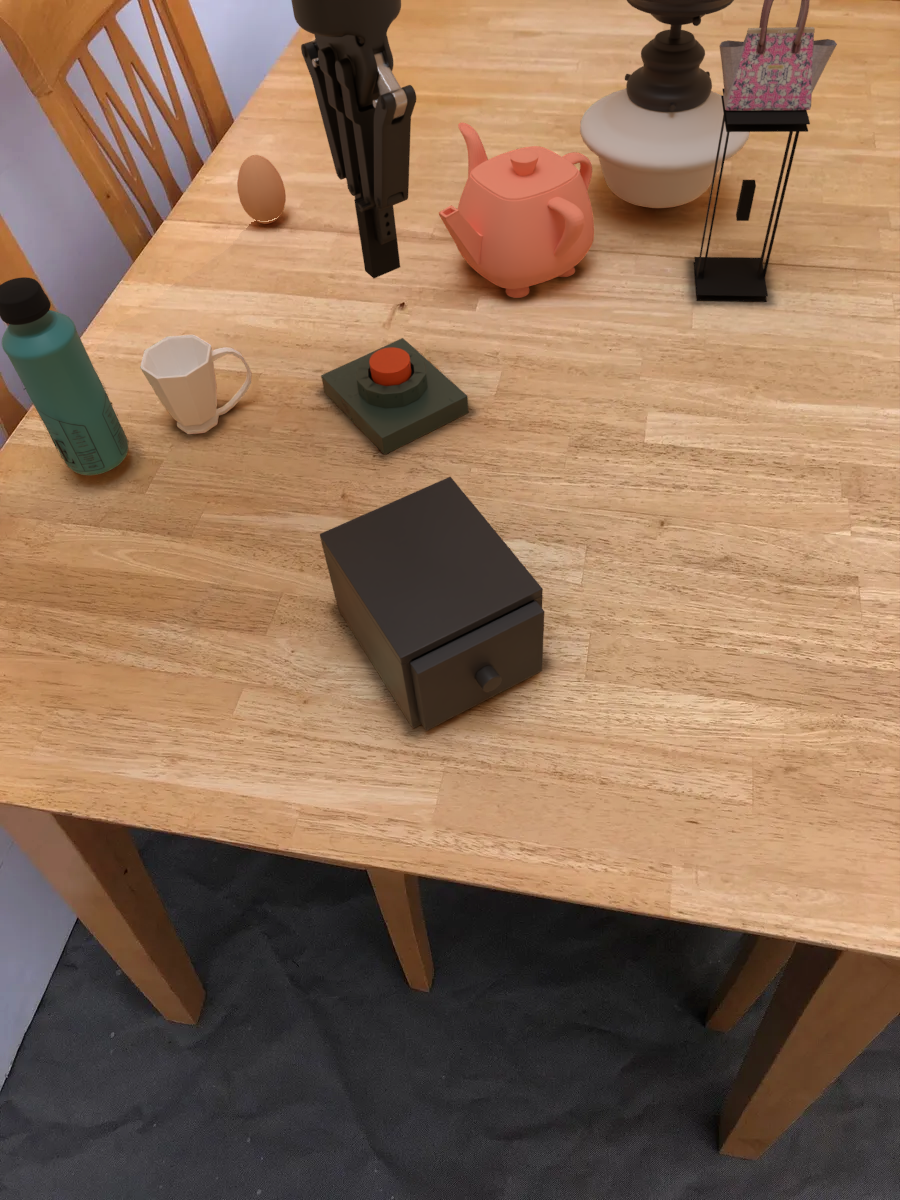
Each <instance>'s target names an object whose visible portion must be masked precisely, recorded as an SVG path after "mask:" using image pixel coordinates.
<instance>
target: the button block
mask: <svg viewBox="0 0 900 1200" xmlns="http://www.w3.org/2000/svg"><path fill="white" fill-rule="evenodd" d="M391 347H393V348H400V349H402V350H404V351H406V352H407V353H408V354H409V356H410V363H411V377H410V378H409V380H408V381H406V382H404V383H402V384H400V385H393V386H383V385H380V384H376V383H375V382H374V381H373V380H372V377H371V370H370V364H369V360H370V358H371V356H372V355H373V354H374V353H375V352H377V351H378V350H381V349H384V348H391ZM320 377H321V382H322V387H323V392H324V393H325V395H326V396H328V397H329V399H330V400H331V401H332V402H333V403H334V404H335V405H336V406H337V407H338V408H339V409H340V410H341V411H342V412H343V413H344V415H345V416H347V418H349V420H350V421H351V422H353V424H354V425H355V426H356V427H357V428H358V429H359V430H360V431H361V432H362V433H363V434H364V435H365V436H366V437H367V438H368V439H369V440H370V441H371V443H373V444H374V445H375V447H377V449H378V450H379V451H380V452H381V453H382V454H383V455H388V454H389V453H391V452H394V451H395V450H398V449H400V448H402V447H403V446H405V445H407V444H409V443H412V442H413V441H415V440H417V439H419V438H421V437H423V436H426V435H427V434H429V433H431V432H434V431H436V430H437V429H439V428H442V427H443V426H445V425H447V424H449V423H451V422H454V421H455V420H457V419H459V418H461V417H463V416H465V415H467V414H468V413H469V397H468V395H467V394H466V393H465V391H463V390H462V389H461V388H460V387H458V386H457V385H456V384H455V383H454V382H453V381H452V380H451V379H449V378H448V377H447V376H446V375H445V374H444V373H443V372H441V370H439V369H438V367H436V366H435V365H434V364H433V363H432V362H431V361H430V360H428V359H427V357H425V356H424V355H423V354H421V352H419V350H417V349H416V348H415V347H413V345H412V344H410V343H409V342H408V341H407V340H406V339H404V338H403V337H401V338H399V339H397V340H395V341H392V342H390V343H388V344H386V345H384V346H382V347H379V348H378V349H376V350H373V351H371V352H369V353H367V354H365V355H362V356H360V357H358V358H356V359H354V360H351V361H349V362H347V363H345V364H343V365H341V366H338V367H336V368H334V369H332V370H330V371H327V372H325V373H323V374H321V375H320Z"/></svg>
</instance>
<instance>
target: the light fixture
mask: <svg viewBox="0 0 900 1200" xmlns="http://www.w3.org/2000/svg"><path fill="white" fill-rule="evenodd" d="M734 1H735V0H626V2H627V3H628V4H629V5H630V6H631V7H632V8H634V9H635V10H638V11H639V12H643V13H646V14H649V15H651V16H652V17H653V18H654V19H655V20H656V21H657V22H659V23H662V24H665V25H670V27H669V29H664V30H661V31H660V32H658V33H657V34H656V35H655V36H654V38H652V39H650V40H649V41H648V42H647V43H646V44H645V45H644V46H643V47H642V48H641V51H640V58H641V61H642V64H643V66H641V67H639V68H637V69H636V70H634V71H632V73H626V74H625V75H624V81H626V86H625V88H623V89H620V90H616V91H613V92H611V93H609V94H607V95H605V96H603V97H601V98H599V99H597V100H596V101H595V102H593V103H592V104H591V105H590V106H589V107H588V108H587V109H586V110H585V111H584V113H583V115H582V117H581V119H580V122H579V123H580V124H579V133H580V136H581V140H582V141H583V143H584V144H585V146H586V147H587V148H588V150H589V151H591V153H593V154H595V155H596V156H597V157H598V161H599V164H600V169H601V171H602V172H601V173H602V175H603V179H604V181H605V184H606V186H607V187H608V189H609V190H610V191H611V192H612V194H614V195H615V196H616V197H618V198H619V199H621V200H623V201H625V202H626V203H629V204H631V205H635V206H639V207H643V208H650V209H667V208H674V207H675V208H676V207H680V206H683V205H686V204H689V203H692V202H693V201H695V200H697V199H698V198H700V197H701V196H702V195H704V194H705V193H706V192H707V191H708V190H709V188H710V186H711V185H712V180H713V174H714V168H715V162H716V156H717V150H718V144H719V139H720V133H721V127H722V121H723V115H724V112H723V105H722V98H721V96H723V94H720V93H718V92H716V91H712V89H713V84H712V78H711V77H710V76H711V74H710V71H705V70H704V69H702V68H701V67H700V65H702V63H703V61H704V59H705V57H706V50H705V48H704V47H703V45H702V44H701V43H700V42H699V41H698V40H697V39H696V37H695V34H693V33H692V32H690V31H688V30H684V29H682V28H683V27H682V26H683V25H690V24H692V25H693V26H694V27H698V26H699V25H701V23H702V18H703V17H704V16H706V15H710V14H713V13H714V14H715V13H717V12H720V11H722V10H725V9H726V8H727V7H729V6H730V5H731V4H733V2H734ZM750 134H751V132H729V138H728V144H727V149H726V155H725V160H724V162H725V161H727V160H729V159H732V158H733V157H734V156H735V155H737V153H739V152H740V151H741V150H742V149H743V148H744V147H745V146H746V144H747V142H748V140H749V139H750ZM726 136H727V132H726V126H725V123H724V128H723V134H722V140H721V146H720V151H719V157H718V163H717V169H716V175H715V178H716V177H717V175H718V173H719V172H720V170H721V165H722V159H723V153H724V148H725V142H726Z"/></svg>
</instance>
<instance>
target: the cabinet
mask: <svg viewBox="0 0 900 1200" xmlns="http://www.w3.org/2000/svg"><path fill="white" fill-rule="evenodd" d="M319 538H320V542H321V547H322V550H323V554H324V559H325V562H326V566H327V570H328V574H329V578H330V583H331V587H332V591H333V593H334V598H335V602H336V606H337V609H338V611H339V613H340V614H341V616H342V618H343V619H344V621H345V623H346V624H347V626H348V627H349V629H350V631H351V632H352V634H353V636H354V637H355V638H356V640H357V642H358V643H359V645H360V647H361V648H362V650H363V652H364V653H365V654H366V656H367V658H368V659H369V661H370V663H371V664H372V666H373V668H374V669H375V671H376V672H377V674H378V676H379V677H380V679H381V680H382V682H383V684H384V685H385V687H386V688H387V690H388V692H389V693H390V695H391V697H392V698H393V700H394V701H395V703H396V705H397V706H398V708H399V709H400V711H401V712H402V715H404V717H405V719H406V720H407V722H408V723H409V725H410V727H411V728H412V729H415V728H417V727H419V726H422V724H421V722H420V721H419V716H418V710H417V704H416V698H415V691H414V685H413V679H412V673H411V667H410V662H412V661H411V660H412V659H414V658H416V657H418V656H420V655H422V654H424V653H426V652H428V651H430V650H432V649H434V648H436V647H438V646H440V645H442V644H444V643H446V642H448V641H450V640H452V639H454V638H456V637H458V636H461V635H463V634H465V633H467V632H469V631H471V630H473V629H475V628H477V627H479V626H481V625H483V624H485V623H487V622H489V621H491V620H493V619H495V618H497V617H499V616H501V615H503V614H505V613H507V612H509V611H511V610H513V609H515V608H517V607H518V609H519V608H521V607H523V606H526V605H528V604H530V603H532V602H534V601H537V603H538V604H539V605H540V606H541V607H542V608H543V601H544V600H543V598H544V597H543V594H544V593H543V591H544V590H543V587H542V586H541V584H539V582H538V581H537V580H536V578H535V577H534V576H533V575H532V573H530V571H529V570H528V569H527V567H526V566H525V565H524V564H523V563H522V562H521V560H520V559H519V558H518V557H517V556H516V554H515V553H514V552H513V551H512V549H511V548H510V546H508V545H507V543H506V541H504V540H503V538H502V537H501V536H500V535H499V534H498V533H497V531H496V530H495V529H494V527H493V526H492V525H491V524H490V523H489V521H488V520H487V519H486V518H485V517H484V516H483V514H482V513H481V512H480V510H479V509H478V508H477V507H476V506H475V504H474V503H473V502H472V501H471V499H470V498H469V497H468V496H467V495H466V493H465V492H464V491H463V490H462V489H461V488H460V486H459V485H458V484H457V482H455V480H454V479H453V478H452V477H451V476H449V477H445V478H444V479H441V480H439V481H437V482H434V483H432V484H430V485H427V486H425V487H423V488H421V489H419V490H416V491H414V492H412V493H409V494H408V495H404V496H403V497H400V498H397V499H396V500H393V501H392V502H389V503H387V504H384V505H383V506H382V505H381V506H380V507H377V508H375V509H372V510H371V511H368V512H366V513H363V514H362V515H360V516H357V517H355V518H352V519H351V520H348V521H346V522H343V523H341V524H339V525H337V526H334V527H332V528H329V529H327V530H325V531H323V532H320V533H319Z"/></svg>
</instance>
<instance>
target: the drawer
mask: <svg viewBox="0 0 900 1200" xmlns="http://www.w3.org/2000/svg"><path fill="white" fill-rule="evenodd" d="M544 630H545V609H543V606H542V607H541V606H540V605H539V604H538V603H537V601H534V602H532V603H530V604H528V605H526V606H523V607H521V608H519V609H518V607H517V608H515V609H513V610H511V611H509V612H507V613H505V614H503V615H501V616H499V617H497V618H495V619H493V620H491V621H489V622H487V623H485V624H483V625H481V626H479V627H477V628H475V629H473V630H471V631H469V632H467V633H465V634H463V635H461V636H458V637H456V638H454V639H452V640H450V641H448V642H446V643H444V644H442V645H440V646H438V647H436V648H434V649H432V650H430V651H428V652H426V653H424V654H422V655H420V656H418V657H416V658H414V659H412V660H411V661H412V662H410V667H411V673H412V679H413V685H414V691H415V698H416V704H417V710H418V716H419V721H420V722H421V726H422V727H423V729H424V730H425V731H426V732H427V731H429V730H431V729H433V728H435V727H437V726H438V725H440V724H443V723H444V722H446V721H448V720H450V719H452V718H454V717H456V716H458V715H460V714H462V713H464V712H467V711H468V710H470V709H472V708H473V707H476V706H477V705H479V704H481V703H483V702H484V701H487V700H489V699H491V698H493V697H495V696H497V695H499V694H500V693H502V692H504V691H506V690H508V689H511V688H512V687H514V686H516V685H518V684H520V683H522V682H523V681H525V680H527V679H529V678H531V677H534V676H535V675H537V674H539V673H541V672H542V671H543V656H544V637H545V636H544V633H545V631H544Z"/></svg>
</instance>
